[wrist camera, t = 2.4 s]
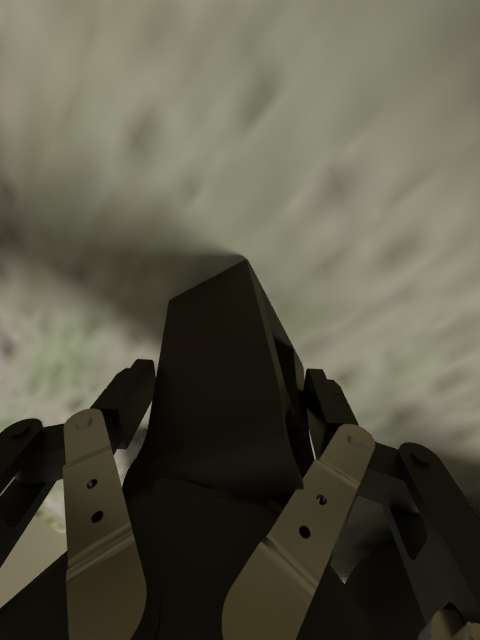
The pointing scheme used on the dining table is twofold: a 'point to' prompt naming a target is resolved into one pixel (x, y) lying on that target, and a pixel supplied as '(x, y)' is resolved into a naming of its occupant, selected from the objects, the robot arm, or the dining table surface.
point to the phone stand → (226, 396)
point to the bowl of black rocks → (387, 594)
